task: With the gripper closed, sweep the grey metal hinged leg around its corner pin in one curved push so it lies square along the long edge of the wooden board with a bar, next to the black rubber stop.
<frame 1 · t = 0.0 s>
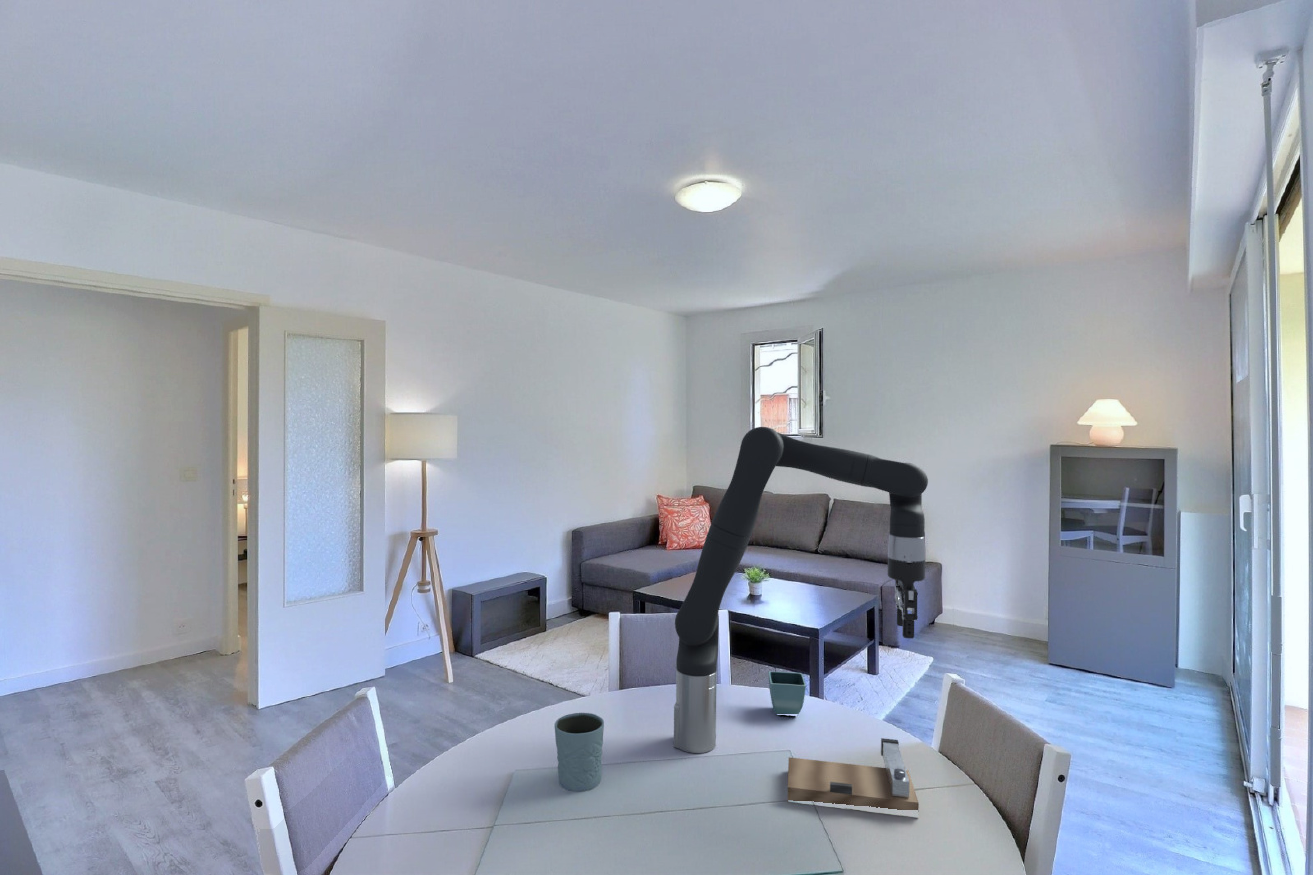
hand: (905, 631, 144), 29 cm above the table, tool pointing down, fingers open, 8 cm apart
flower pot: (786, 713, 171), on the table
embossed green cup: (578, 781, 138), on the table
wooden board with bar: (849, 793, 134), on the table
hinged leg: (894, 764, 136), point 5 cm above the table, hinge at 0.0°
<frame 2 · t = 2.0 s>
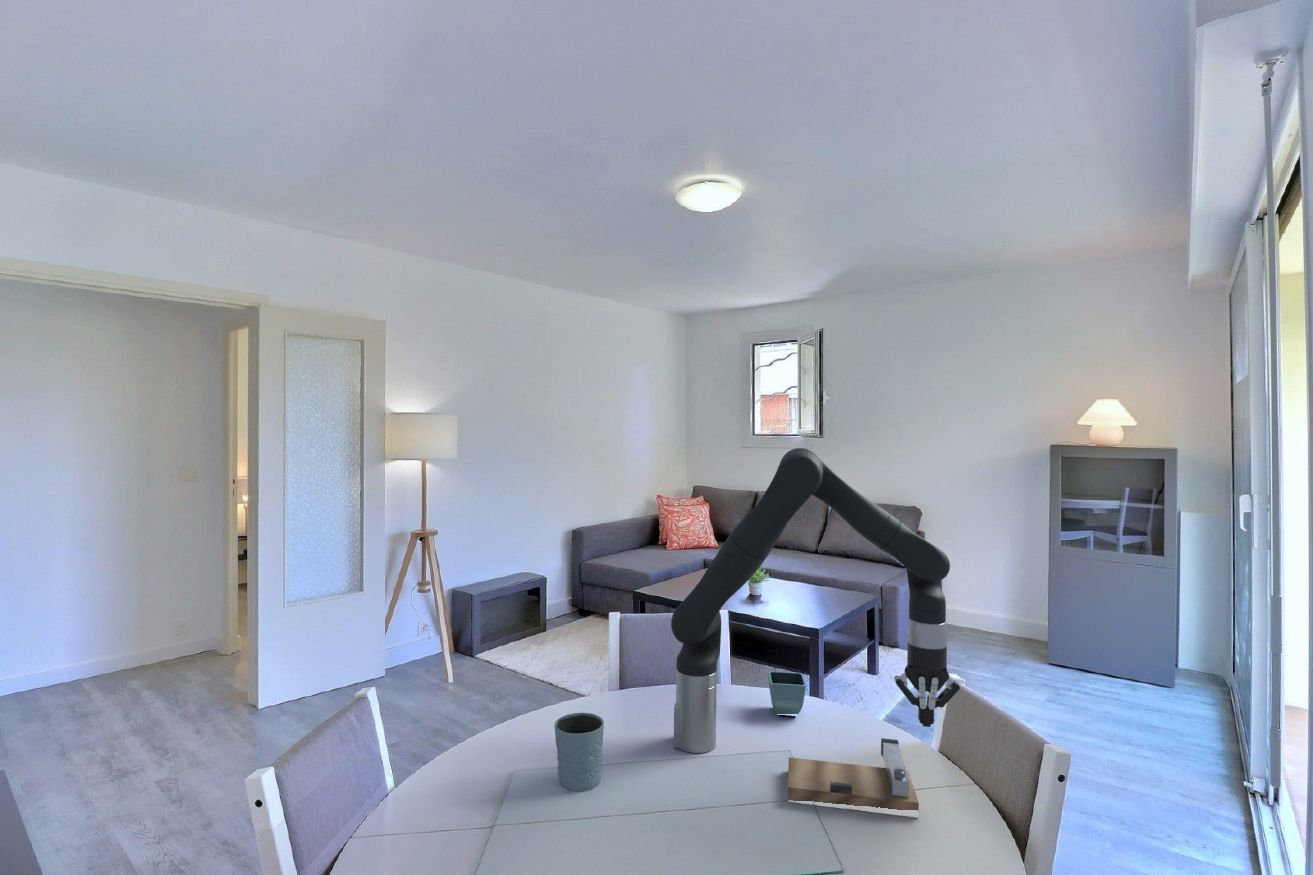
hand: (926, 725, 138), 12 cm above the table, tool pointing down, fingers closed
nothing on the table moved.
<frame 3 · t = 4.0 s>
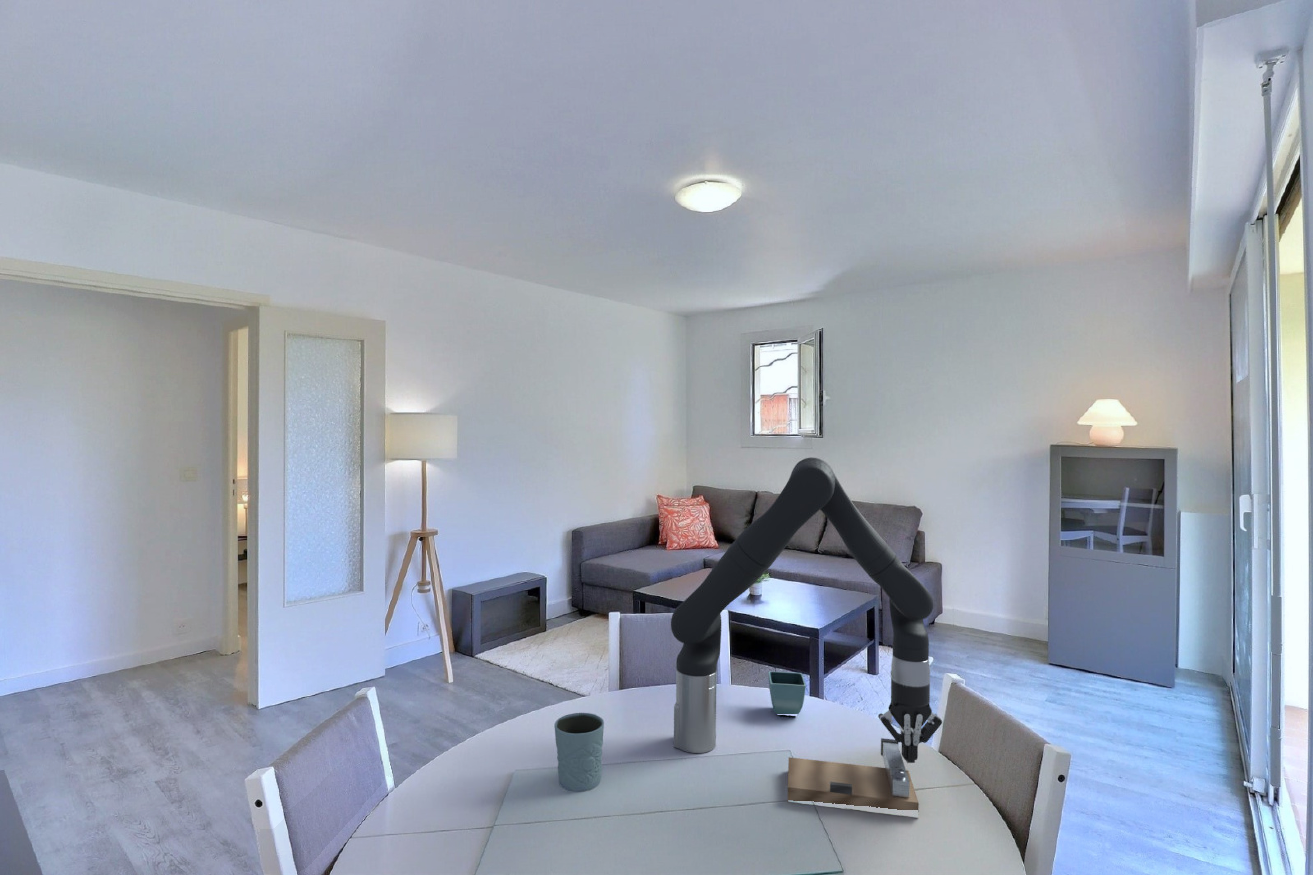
hand: (909, 761, 139), 4 cm above the table, tool pointing down, fingers closed
hinged leg: (894, 764, 136), point 5 cm above the table, hinge at 0.1°, touching gripper
everything else where it was.
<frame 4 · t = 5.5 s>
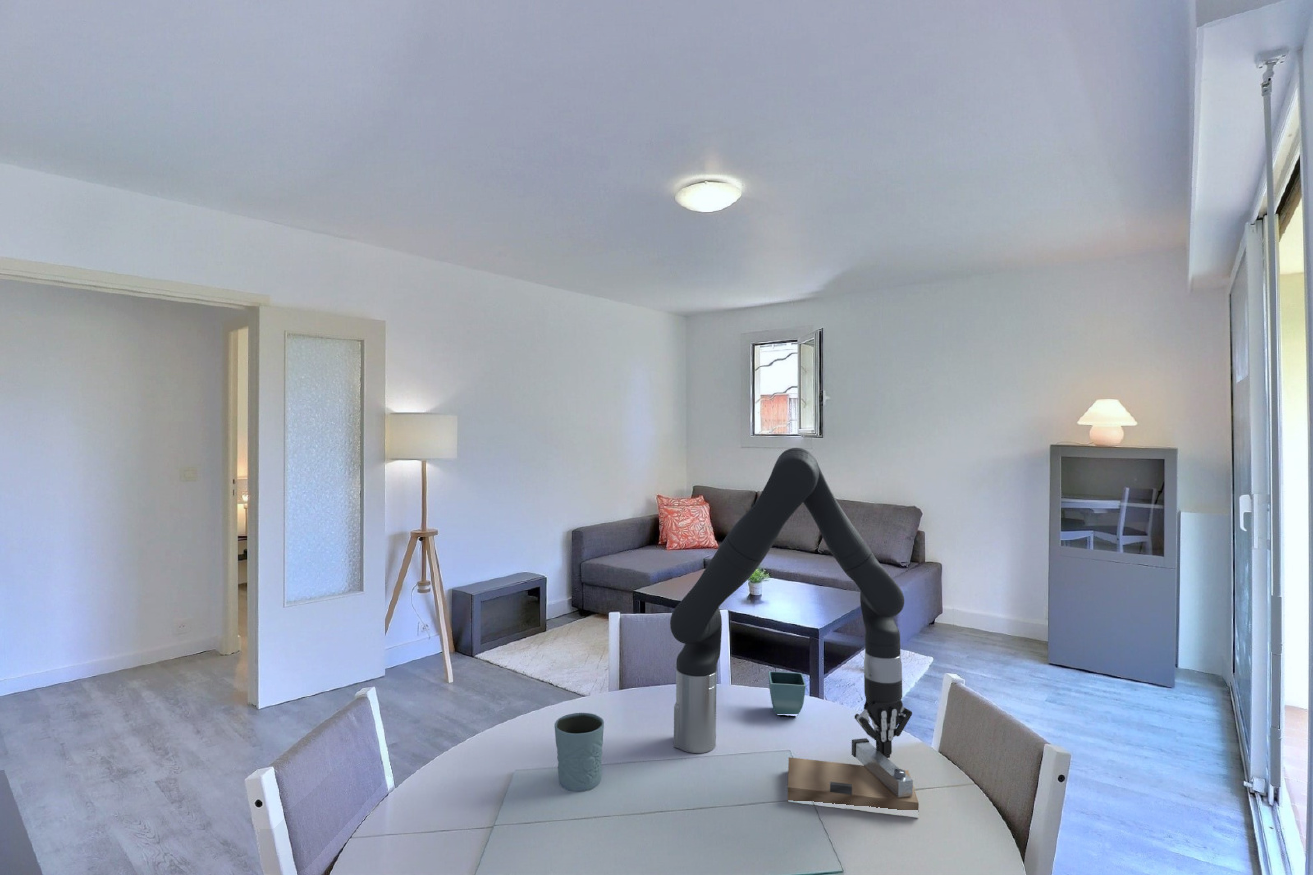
hand: (884, 756, 141), 4 cm above the table, tool pointing down, fingers closed
hinged leg: (880, 764, 135), point 5 cm above the table, hinge at 25.2°, touching gripper
everything else where it was.
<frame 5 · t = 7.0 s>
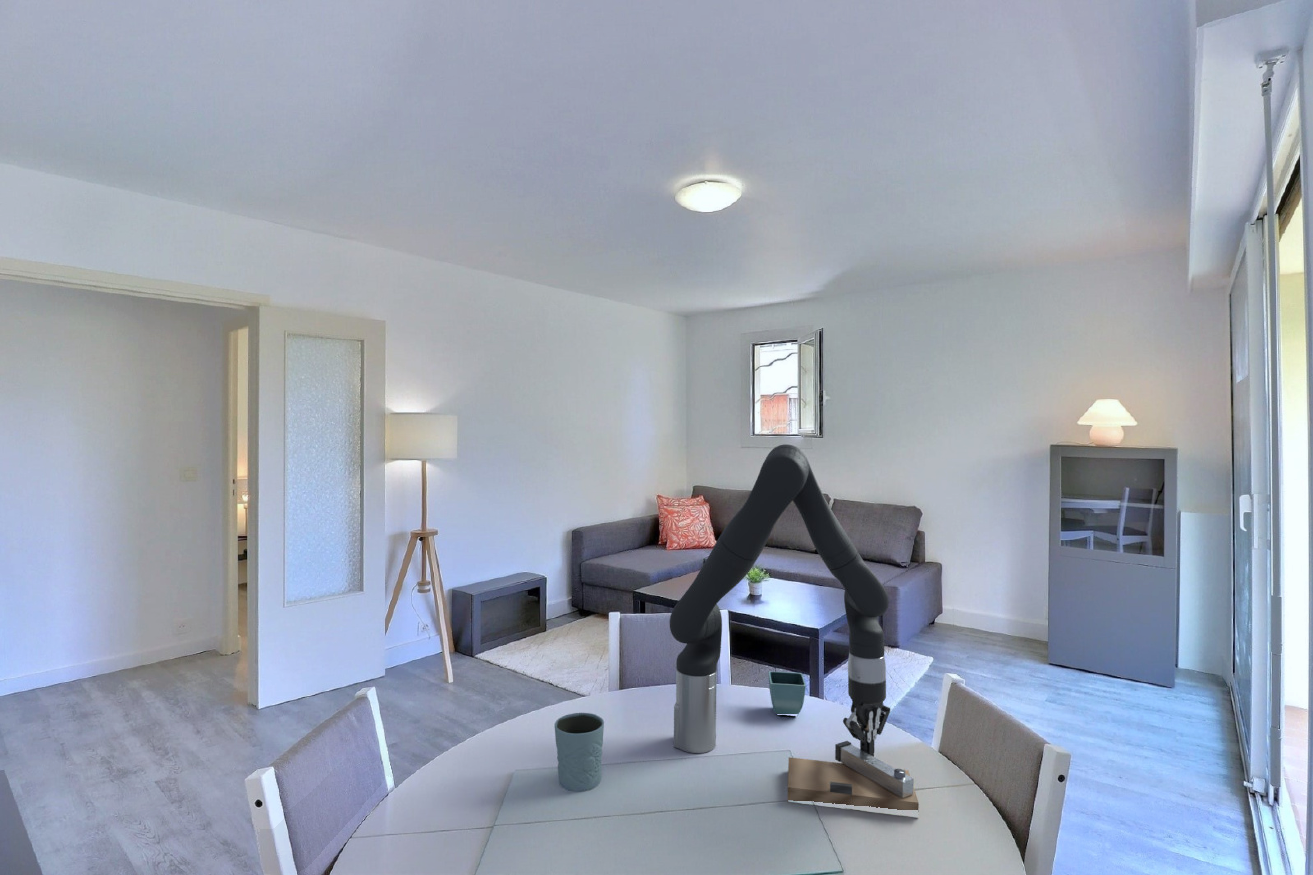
hand: (867, 756, 140), 4 cm above the table, tool pointing down, fingers closed
hinged leg: (872, 766, 135), point 5 cm above the table, hinge at 42.8°, touching gripper
everything else where it was.
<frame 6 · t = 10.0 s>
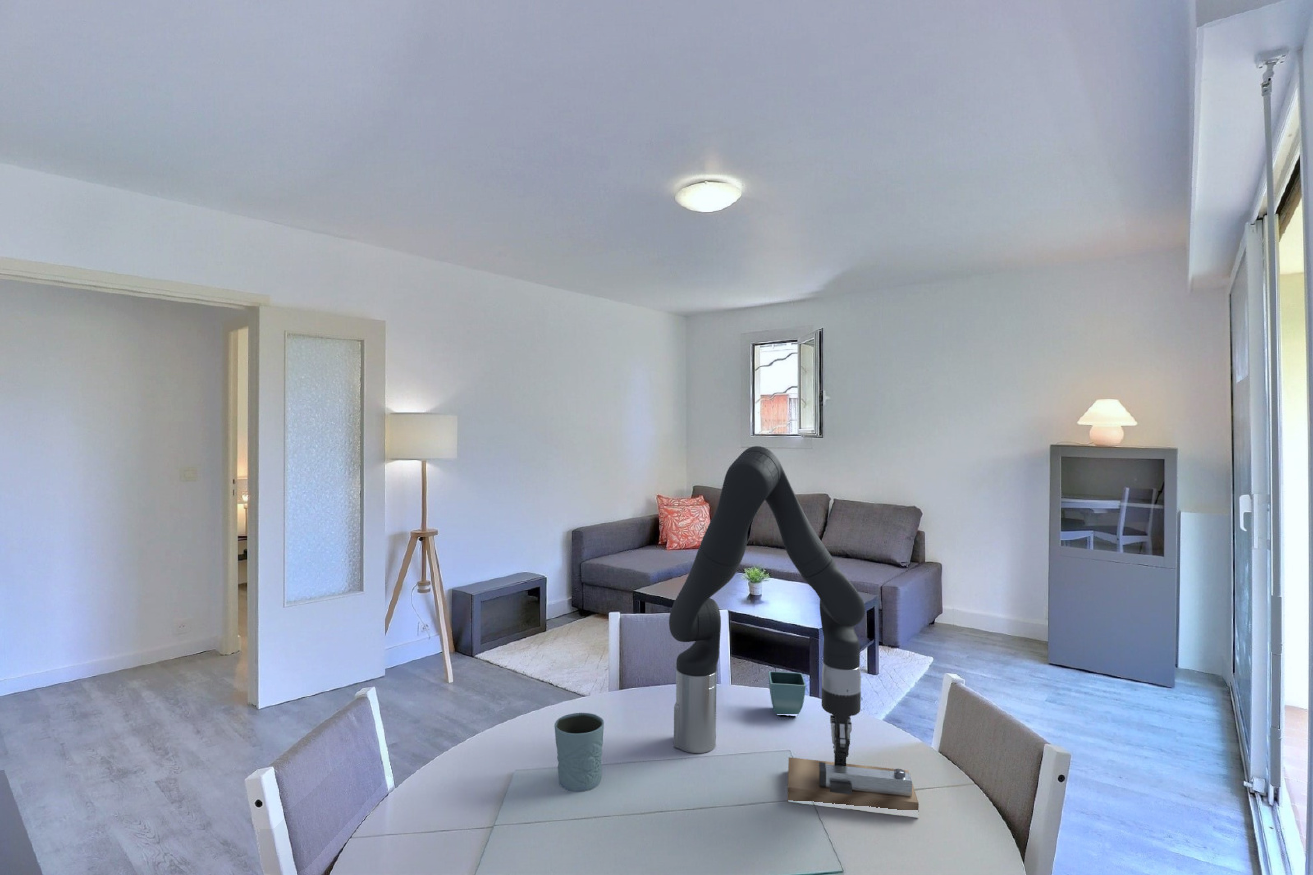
hand: (840, 771, 135), 4 cm above the table, tool pointing down, fingers closed
hinged leg: (864, 777, 130), point 5 cm above the table, hinge at 91.0°, touching gripper
everything else where it was.
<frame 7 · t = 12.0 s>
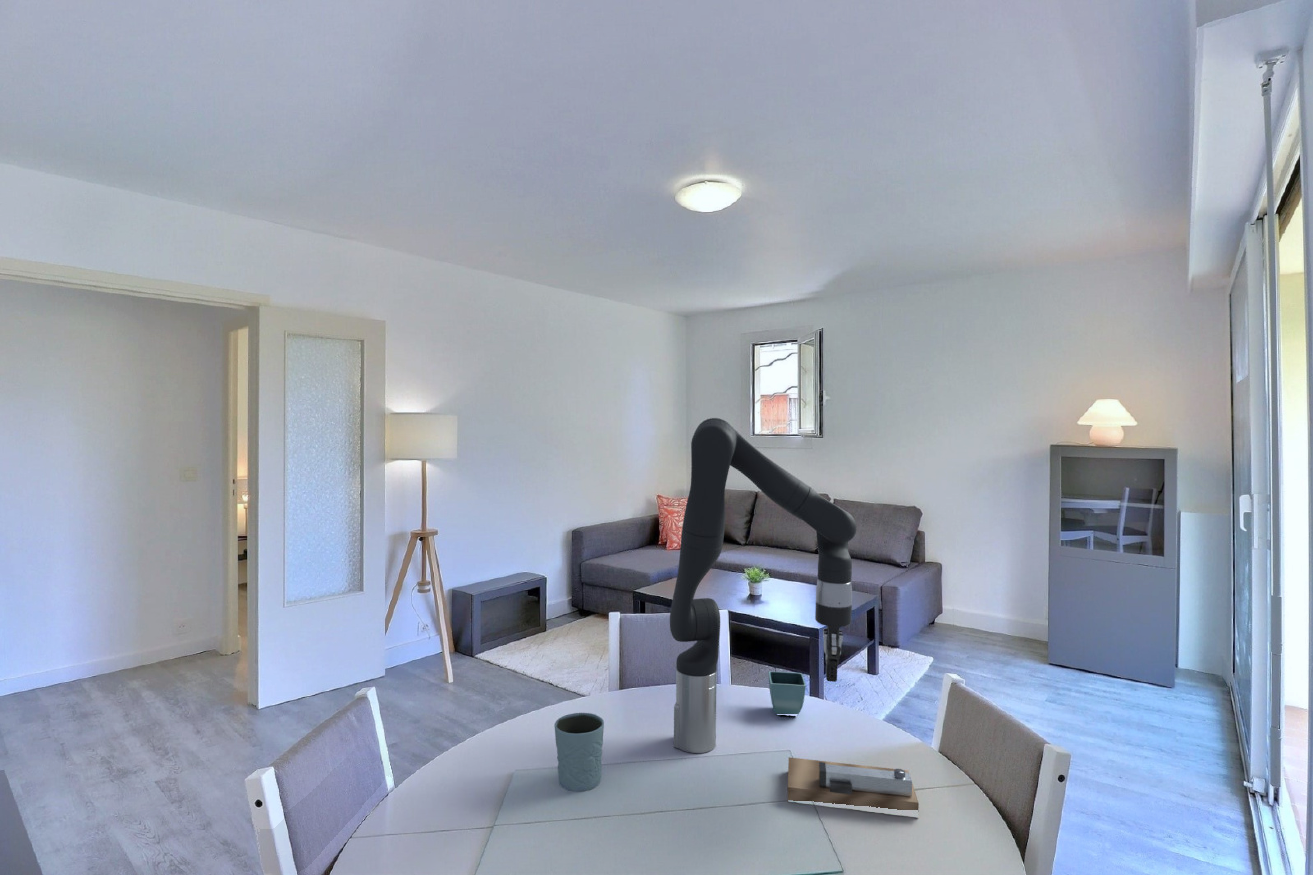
hand: (831, 680, 145), 18 cm above the table, tool pointing down, fingers closed
hinged leg: (864, 777, 130), point 5 cm above the table, hinge at 91.0°
everything else where it was.
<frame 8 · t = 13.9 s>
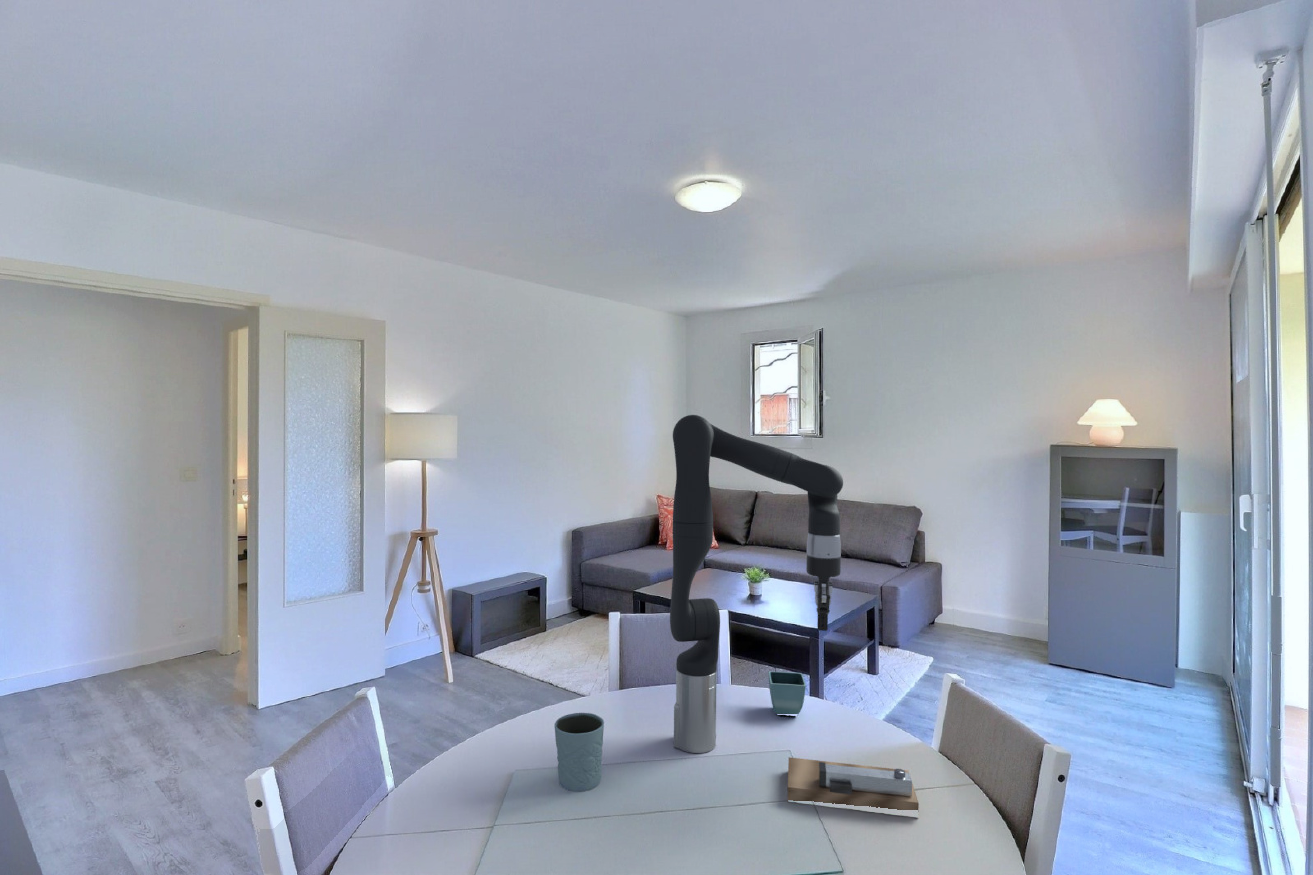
hand: (822, 629, 153), 27 cm above the table, tool pointing down, fingers closed
nothing on the table moved.
at the end: hinged leg at +91° (first picture: +0°) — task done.
